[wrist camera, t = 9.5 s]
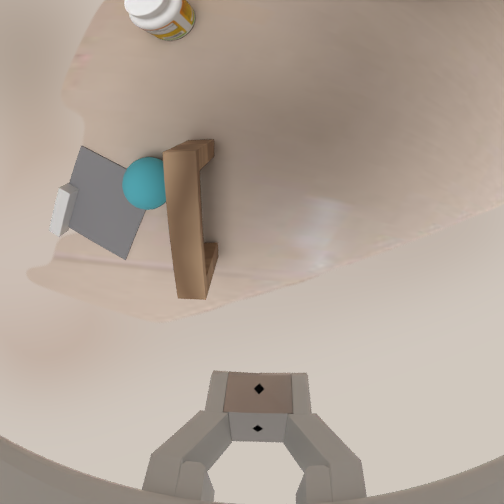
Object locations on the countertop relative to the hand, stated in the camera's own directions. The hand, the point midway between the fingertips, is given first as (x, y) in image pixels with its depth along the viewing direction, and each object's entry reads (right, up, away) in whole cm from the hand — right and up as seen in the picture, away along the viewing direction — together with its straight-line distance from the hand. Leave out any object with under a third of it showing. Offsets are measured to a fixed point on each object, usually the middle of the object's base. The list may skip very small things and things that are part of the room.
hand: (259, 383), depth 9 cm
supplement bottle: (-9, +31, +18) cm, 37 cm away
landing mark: (-20, +11, +28) cm, 36 cm away
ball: (-12, +12, +24) cm, 29 cm away
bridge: (-6, +10, +28) cm, 30 cm away
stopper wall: (-26, +11, +28) cm, 40 cm away
